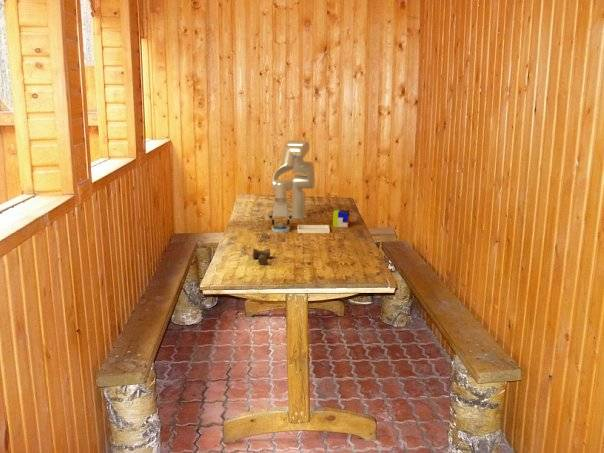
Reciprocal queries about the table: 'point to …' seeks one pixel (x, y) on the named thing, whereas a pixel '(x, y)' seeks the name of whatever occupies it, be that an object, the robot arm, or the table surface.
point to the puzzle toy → (341, 218)
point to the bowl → (275, 229)
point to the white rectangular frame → (313, 229)
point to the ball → (281, 225)
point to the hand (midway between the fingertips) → (280, 225)
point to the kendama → (261, 256)
